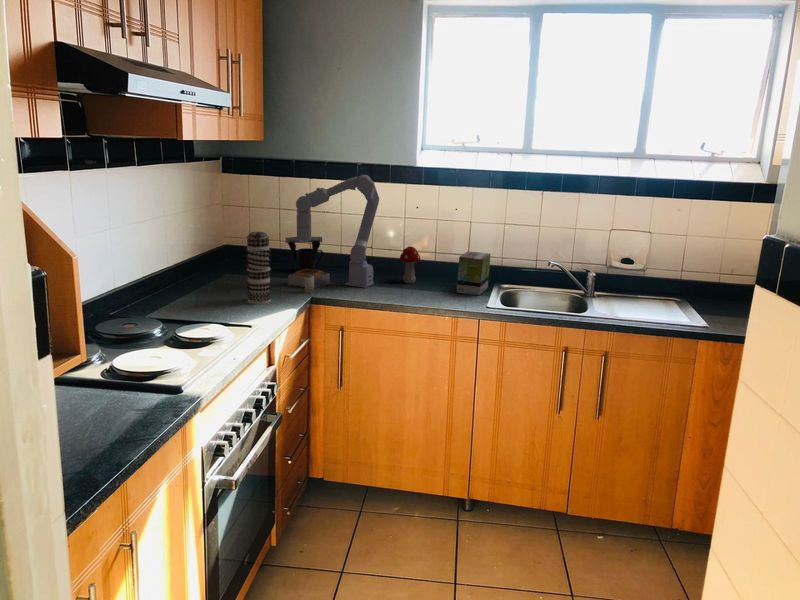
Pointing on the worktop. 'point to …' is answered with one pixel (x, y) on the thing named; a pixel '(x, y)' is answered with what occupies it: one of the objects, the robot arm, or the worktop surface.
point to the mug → (307, 259)
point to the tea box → (473, 273)
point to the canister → (309, 283)
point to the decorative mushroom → (409, 263)
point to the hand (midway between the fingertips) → (304, 260)
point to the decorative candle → (258, 268)
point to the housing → (298, 276)
